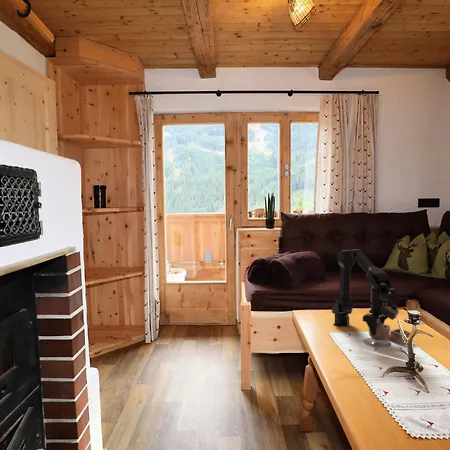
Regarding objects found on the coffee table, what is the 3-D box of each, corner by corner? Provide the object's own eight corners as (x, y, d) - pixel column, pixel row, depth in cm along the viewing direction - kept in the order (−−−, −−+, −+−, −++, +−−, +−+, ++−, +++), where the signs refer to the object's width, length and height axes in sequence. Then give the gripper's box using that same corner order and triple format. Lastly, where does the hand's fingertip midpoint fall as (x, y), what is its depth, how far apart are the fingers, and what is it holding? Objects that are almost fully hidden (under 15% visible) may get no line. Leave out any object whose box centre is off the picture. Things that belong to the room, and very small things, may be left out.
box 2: (390, 341, 176) (390, 330, 175) (398, 339, 179) (398, 328, 178) (402, 345, 170) (402, 334, 170) (410, 343, 174) (410, 332, 173)
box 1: (373, 337, 181) (374, 326, 181) (376, 333, 186) (376, 323, 186) (387, 339, 178) (387, 329, 178) (389, 335, 183) (389, 325, 183)
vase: (386, 342, 169) (387, 322, 168) (370, 341, 170) (370, 322, 170) (383, 336, 175) (383, 318, 175) (367, 335, 177) (368, 317, 176)
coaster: (358, 344, 173) (358, 342, 172) (369, 337, 181) (369, 336, 181) (385, 351, 164) (385, 349, 164) (395, 343, 173) (395, 342, 173)
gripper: (388, 307, 159) (387, 343, 160) (403, 298, 173) (402, 332, 174) (362, 302, 167) (361, 337, 168) (378, 294, 181) (378, 326, 182)
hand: (377, 333), depth 173 cm, fingers closed on vase, 7 cm apart
